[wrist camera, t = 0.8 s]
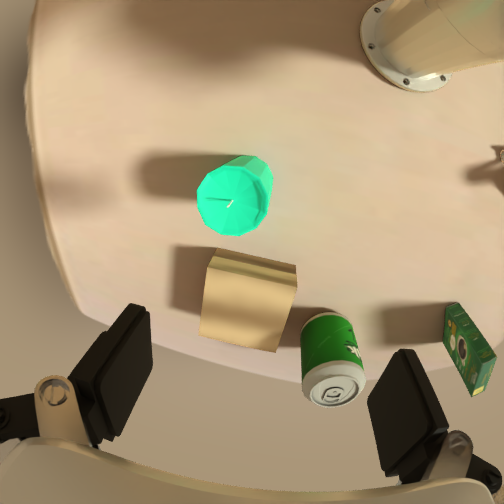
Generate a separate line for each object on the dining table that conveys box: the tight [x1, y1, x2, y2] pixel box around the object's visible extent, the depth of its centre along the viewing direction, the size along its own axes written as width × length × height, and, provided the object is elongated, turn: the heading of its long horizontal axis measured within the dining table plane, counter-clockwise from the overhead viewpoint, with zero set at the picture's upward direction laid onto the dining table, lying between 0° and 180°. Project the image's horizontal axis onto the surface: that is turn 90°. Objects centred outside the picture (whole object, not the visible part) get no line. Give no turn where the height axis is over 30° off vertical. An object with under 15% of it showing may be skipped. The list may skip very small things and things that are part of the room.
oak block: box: [199, 256, 297, 353], centre depth 35 cm, size 10×10×3 cm
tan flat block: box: [213, 248, 296, 274], centre depth 37 cm, size 10×10×3 cm
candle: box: [197, 155, 273, 236], centre depth 27 cm, size 6×6×12 cm
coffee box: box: [443, 303, 497, 397], centre depth 31 cm, size 8×3×13 cm, turn 19°
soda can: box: [300, 312, 366, 408], centre depth 34 cm, size 8×8×12 cm
